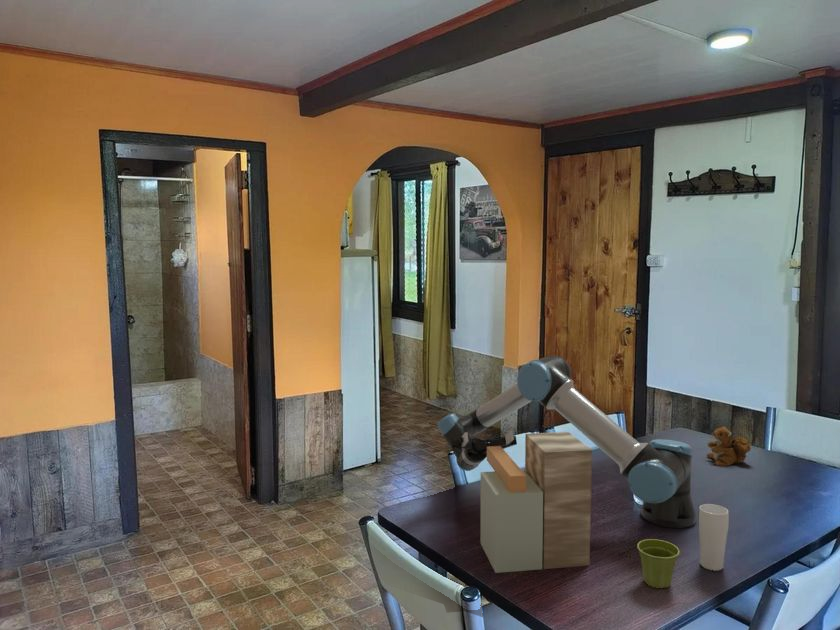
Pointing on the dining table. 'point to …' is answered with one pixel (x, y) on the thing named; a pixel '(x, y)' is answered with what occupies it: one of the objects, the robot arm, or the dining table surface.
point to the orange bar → (506, 469)
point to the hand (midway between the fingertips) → (489, 435)
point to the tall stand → (562, 496)
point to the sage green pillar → (511, 524)
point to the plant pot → (657, 561)
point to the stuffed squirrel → (727, 448)
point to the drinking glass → (712, 535)
